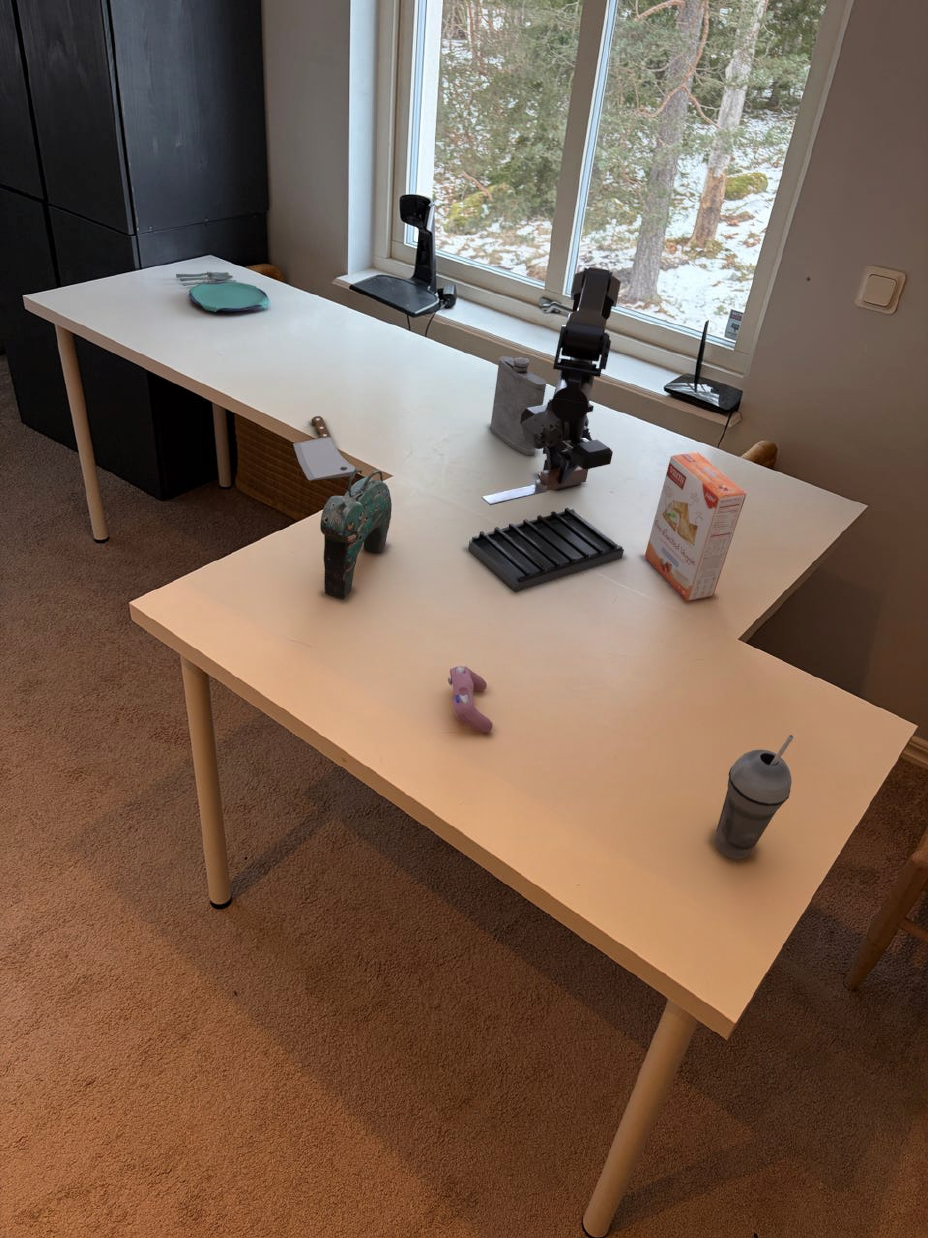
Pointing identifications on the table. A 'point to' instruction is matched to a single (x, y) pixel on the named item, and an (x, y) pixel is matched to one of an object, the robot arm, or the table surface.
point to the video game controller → (468, 698)
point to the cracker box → (694, 525)
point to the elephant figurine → (353, 529)
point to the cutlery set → (224, 293)
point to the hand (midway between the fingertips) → (557, 480)
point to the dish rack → (543, 549)
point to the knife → (539, 486)
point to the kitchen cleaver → (322, 455)
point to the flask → (515, 401)
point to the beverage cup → (752, 800)
